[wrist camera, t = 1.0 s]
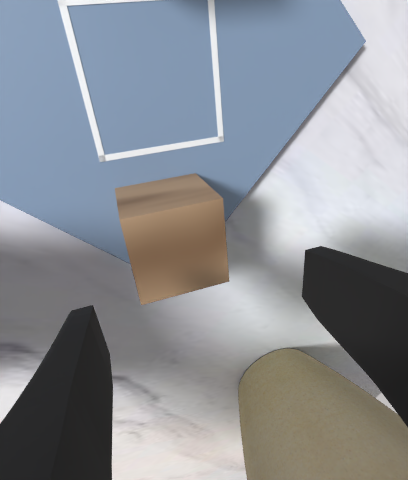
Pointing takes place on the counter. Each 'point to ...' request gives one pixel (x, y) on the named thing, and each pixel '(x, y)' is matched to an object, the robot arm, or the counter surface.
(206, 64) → the blueprint board
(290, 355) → the plant pot
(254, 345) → the counter surface
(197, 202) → the walnut block
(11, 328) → the counter surface
